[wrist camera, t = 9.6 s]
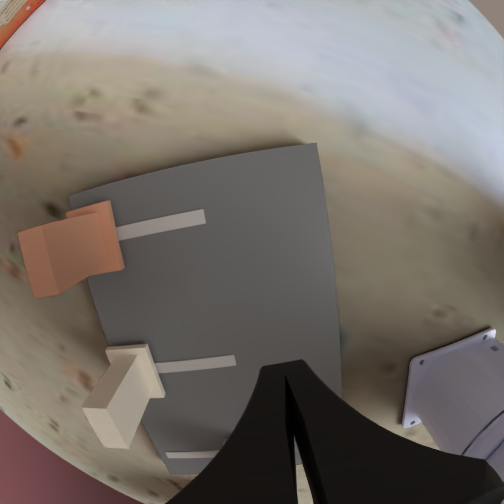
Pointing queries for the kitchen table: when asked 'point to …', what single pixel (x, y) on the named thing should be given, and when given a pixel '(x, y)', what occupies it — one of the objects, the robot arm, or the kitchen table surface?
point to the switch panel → (220, 287)
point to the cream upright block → (123, 395)
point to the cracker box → (14, 15)
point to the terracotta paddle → (71, 249)
